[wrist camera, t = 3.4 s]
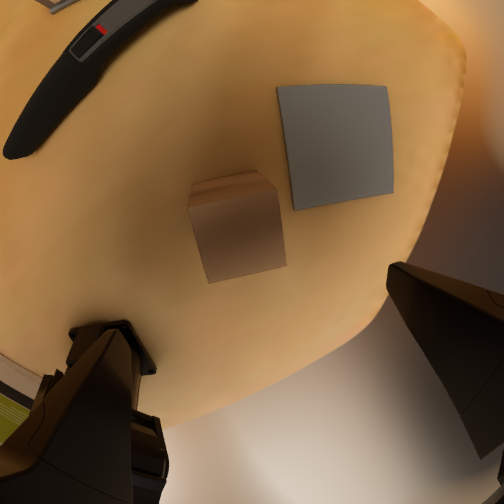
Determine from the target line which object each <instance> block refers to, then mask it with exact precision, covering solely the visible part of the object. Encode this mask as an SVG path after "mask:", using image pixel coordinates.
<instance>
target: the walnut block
mask: <svg viewBox="0 0 504 504" xmlns="http://www.w3.org/2000/svg"><path fill="white" fill-rule="evenodd" d="M188 212H189V215H190V219H191V223H192V227H193V231H194V234H195V238H196V242H197V245H198V249H199V252H200V256H201V259H202V263H203V266H204V270H205V273H206V277H207V280H208V283H209V284H210V283H214V282H219V281H223V280H228V279H232V278H237V277H241V276H245V275H250V274H254V273H259V272H263V271H267V270H272V269H276V268H280V267H284V266H287V264H286V255H285V247H284V238H283V230H282V222H281V214H280V207H279V199H278V192H277V188H275V187H274V186H273V185H272V184H271V183H270V182H269V181H268V180H267V179H266V178H265V177H263V176H262V175H261V174H260V173H259V172H258V171H257V170H256V171H251V172H246V173H240V174H235V175H230V176H226V177H221V178H216V179H212V180H207V181H203V182H199V183H194V184H192V188H191V193H190V198H189V203H188Z"/></svg>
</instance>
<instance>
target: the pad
mask: <svg viewBox="0 0 504 504" xmlns="http://www.w3.org/2000/svg"><path fill="white" fill-rule="evenodd" d="M276 90H277V96H278V102H279V108H280V114H281V120H282V127H283V133H284V140H285V147H286V154H287V161H288V169H289V177H290V184H291V193H292V201H293V209H294V210H295V211H297V210H302V209H307V208H312V207H317V206H322V205H328V204H333V203H338V202H344V201H349V200H355V199H360V198H366V197H372V196H378V195H384V194H390V193H393V144H392V129H391V117H390V107H389V99H388V91H387V87H386V86H373V85H348V84H323V85H298V86H284V87H276Z"/></svg>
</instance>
